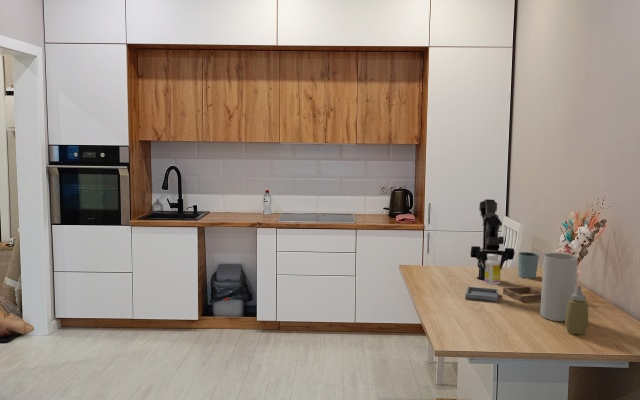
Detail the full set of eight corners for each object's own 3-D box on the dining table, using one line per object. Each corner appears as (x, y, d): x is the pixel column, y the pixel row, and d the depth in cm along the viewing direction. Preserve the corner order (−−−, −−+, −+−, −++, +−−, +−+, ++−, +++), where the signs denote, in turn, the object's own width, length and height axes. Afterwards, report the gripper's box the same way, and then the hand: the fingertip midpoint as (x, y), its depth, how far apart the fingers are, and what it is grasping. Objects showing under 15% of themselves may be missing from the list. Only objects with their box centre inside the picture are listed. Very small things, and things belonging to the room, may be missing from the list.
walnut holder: (502, 293, 270) (503, 288, 269) (528, 291, 274) (529, 286, 273) (521, 302, 256) (522, 296, 256) (548, 300, 260) (549, 294, 260)
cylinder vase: (533, 314, 239) (536, 254, 236) (556, 311, 244) (560, 252, 241) (556, 323, 228) (560, 260, 225) (580, 320, 233) (585, 258, 230)
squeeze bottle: (586, 330, 220) (590, 284, 218) (588, 337, 212) (592, 289, 210) (563, 328, 223) (566, 281, 220) (564, 335, 215) (568, 287, 213)
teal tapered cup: (516, 277, 300) (517, 254, 298) (517, 273, 309) (518, 251, 308) (537, 280, 296) (538, 256, 295) (538, 275, 305) (539, 252, 304)
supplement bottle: (502, 282, 263) (502, 254, 262) (497, 285, 258) (497, 256, 256) (487, 280, 267) (487, 252, 266) (482, 283, 262) (482, 255, 260)
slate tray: (467, 291, 272) (467, 286, 272) (498, 294, 268) (498, 289, 268) (465, 299, 260) (465, 294, 259) (497, 302, 255) (497, 297, 255)
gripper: (472, 228, 265) (472, 257, 256) (515, 230, 262) (517, 260, 252) (470, 242, 274) (470, 271, 265) (512, 244, 270) (513, 273, 261)
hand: (492, 268), depth 260 cm, fingers closed on supplement bottle, 7 cm apart
